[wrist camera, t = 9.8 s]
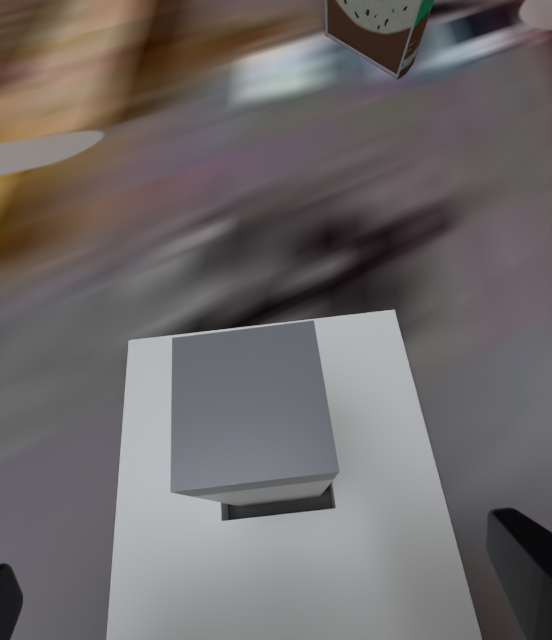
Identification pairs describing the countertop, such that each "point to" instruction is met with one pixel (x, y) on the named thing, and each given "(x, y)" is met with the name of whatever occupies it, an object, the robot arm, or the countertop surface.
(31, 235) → the countertop surface
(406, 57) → the food container
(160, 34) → the countertop surface
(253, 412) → the plug
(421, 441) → the socket
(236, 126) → the countertop surface
